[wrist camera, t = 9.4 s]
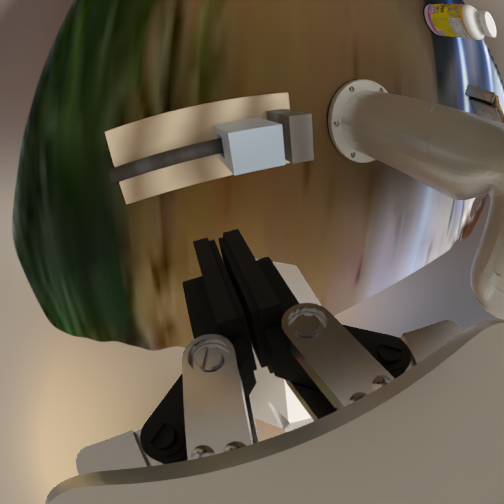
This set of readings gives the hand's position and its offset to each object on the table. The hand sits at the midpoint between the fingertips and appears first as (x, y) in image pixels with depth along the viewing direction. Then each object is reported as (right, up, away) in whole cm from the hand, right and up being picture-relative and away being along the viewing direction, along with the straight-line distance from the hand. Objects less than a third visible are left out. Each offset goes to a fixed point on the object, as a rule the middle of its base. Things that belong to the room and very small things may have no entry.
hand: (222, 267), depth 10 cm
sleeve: (0, +13, +18) cm, 22 cm away
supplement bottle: (+33, +42, +15) cm, 55 cm away
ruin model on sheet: (+51, +34, +27) cm, 67 cm away
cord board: (-4, +13, +19) cm, 23 cm away
